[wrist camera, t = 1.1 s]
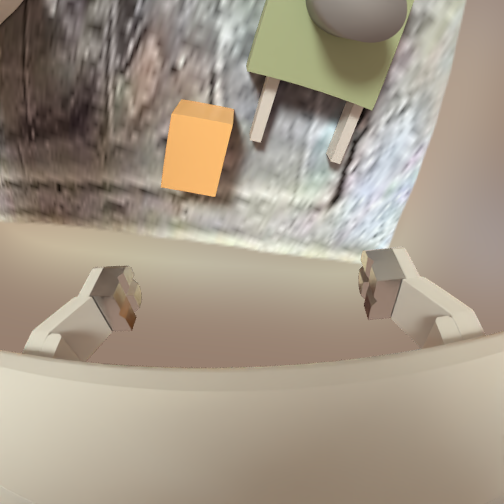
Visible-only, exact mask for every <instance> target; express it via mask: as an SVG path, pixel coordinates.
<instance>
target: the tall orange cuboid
mask: <svg viewBox="0 0 504 504" xmlns="http://www.w3.org/2000/svg"><path fill="white" fill-rule="evenodd" d="M233 116H234V109H231V108H226V107H221V106H216V105H211V104H205V103H200V102H194V101H188V100H181V101H180V102H179V104H178V105H177V107H176V108H175V110H174V111H173V112H172V115H171V121H170V127H169V133H168V139H167V146H166V153H165V160H164V167H163V174H162V182H161V187H163V188H169V189H174V190H180V191H186V192H191V193H197V194H202V195H207V196H213V197H215V196H216V192H217V187H218V183H219V179H220V175H221V171H222V166H223V162H224V158H225V154H226V150H227V146H228V142H229V138H230V134H231V130H232V126H233Z"/></svg>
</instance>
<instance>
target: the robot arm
mask: <svg viewBox="0 0 504 504" xmlns="http://www.w3.org/2000/svg"><path fill="white" fill-rule="evenodd" d="M22 1H23V0H0V24H1V23H2V22H3V21H4V20H5V19H6V18H7V17H8V16H9V15H10V14H12V13H13V12H14V11H15V10H16V8H17V7H18V6H19V5H20V4H21V3H22ZM361 262H362V265H363V266H362V267H361V268H360V270H359V276H358V281H359V290H360V294H361V296H362V297H363V298H364V299H365V303H364V307H365V311H366V314H367V317H368V320H372V319H383V318H391V319H392V320H393V321H394V322H395V323H396V324H397V325H398V326H399V327H400V328H401V329H402V330H403V331H404V332H405V333H406V334H407V335H408V336H409V337H410V338H411V339H412V340H413V341H414V342H415V343H416V344H417V345H418V346H419V347H420V348H421V349H418V350H412V351H406V352H401V353H395V354H387V355H380V356H373V357H367V358H358V359H349V360H340V361H330V362H320V363H309V364H297V365H280V366H262V367H261V366H260V367H228V368H183V367H149V366H132V365H117V364H103V363H92V362H86V361H87V360H88V359H89V358H90V357H91V355H92V354H93V353H94V352H95V351H96V350H97V349H98V348H99V346H100V345H101V344H102V343H103V342H104V341H105V340H106V338H108V336H109V335H110V334H111V333H112V331H132V329H133V326H134V323H135V320H136V315H135V313H134V312H135V311H137V310H138V309H139V308H140V305H141V298H142V293H141V289H140V286H139V284H138V283H137V282H136V281H135V280H133V277H134V272H133V270H132V268H131V267H129V266H111V267H95V268H93V269H92V270H91V272H90V274H89V276H88V278H87V279H86V281H85V283H84V285H83V287H82V289H81V291H80V293H79V295H78V297H74V298H72V299H71V300H70V301H69V302H67V303H66V304H65V305H64V306H62V307H61V308H60V309H58V310H57V311H56V312H55V313H53V314H52V315H51V316H50V317H49V318H47V319H46V320H45V321H44V322H42V323H41V324H40V325H39V326H38V327H36V328H35V329H34V330H33V331H32V333H31V335H30V337H29V339H28V341H27V343H26V345H25V347H24V350H23V352H22V353H16V352H10V351H5V350H0V504H504V331H501V332H497V333H493V334H489V335H485V333H484V331H483V329H482V327H481V325H480V323H479V321H478V319H477V317H476V315H475V313H474V311H473V310H472V309H471V308H469V307H468V306H466V305H465V304H463V303H462V302H461V301H459V300H458V299H456V298H455V297H453V296H452V295H450V294H449V293H448V292H446V291H444V290H443V289H442V288H440V287H438V286H437V285H436V284H434V283H433V282H431V281H430V280H428V279H427V278H425V277H420V275H419V273H418V271H417V270H416V268H415V266H414V264H413V262H412V260H411V258H410V256H409V254H408V253H407V251H406V249H405V248H404V247H395V248H388V249H375V250H363V252H362V254H361Z"/></svg>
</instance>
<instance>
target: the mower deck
mask: <svg viewBox="0 0 504 504" xmlns="http://www.w3.org/2000/svg"><path fill="white" fill-rule="evenodd" d="M413 2H414V0H266V2H265V5H264V8H263V11H262V14H261V18H260V21H259V24H258V27H257V31H256V34H255V37H254V41H253V44H252V47H251V51H250V54H249V58H248V61H247V65H246V67H247V71H248V72H252V73H257V74H261V75H265V76H266V79H265V82H264V85H263V89H262V92H261V95H260V99H259V102H258V105H257V109H256V112H255V116H254V119H253V122H252V126H251V129H250V133H249V134H250V140H252V141H256V142H260V143H261V140H262V137H263V133H264V130H265V127H266V124H267V120H268V117H269V114H270V111H271V108H272V104H273V101H274V98H275V95H276V92H277V88H278V85H279V82H280V80H283V81H287V82H290V83H294V84H297V85H301V86H304V87H307V88H310V89H313V90H317V91H320V92H323V93H326V94H329V95H332V96H334V97H337V98H340V99H343V100H346V104H345V106H344V109H343V111H342V114H341V117H340V119H339V122H338V124H337V127H336V129H335V132H334V134H333V137H332V139H331V142H330V144H329V147H328V149H327V152H326V154H327V156H328V157H329V159H330V161H331V162H335V163H338V164H340V163H341V160H342V158H343V156H344V153H345V151H346V148H347V146H348V144H349V141H350V139H351V136H352V134H353V132H354V129H355V127H356V124H357V122H358V119H359V117H360V115H361V112H362V110H363V107H364V108H367V109H369V110H373V108H374V105H375V103H376V100H377V98H378V95H379V93H380V90H381V88H382V85H383V83H384V80H385V78H386V75H387V73H388V70H389V67H390V65H391V62H392V60H393V57H394V54H395V52H396V49H397V46H398V44H399V41H400V38H401V36H402V33H403V30H404V27H405V25H406V22H407V19H408V16H409V13H410V10H411V8H412V5H413Z"/></svg>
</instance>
